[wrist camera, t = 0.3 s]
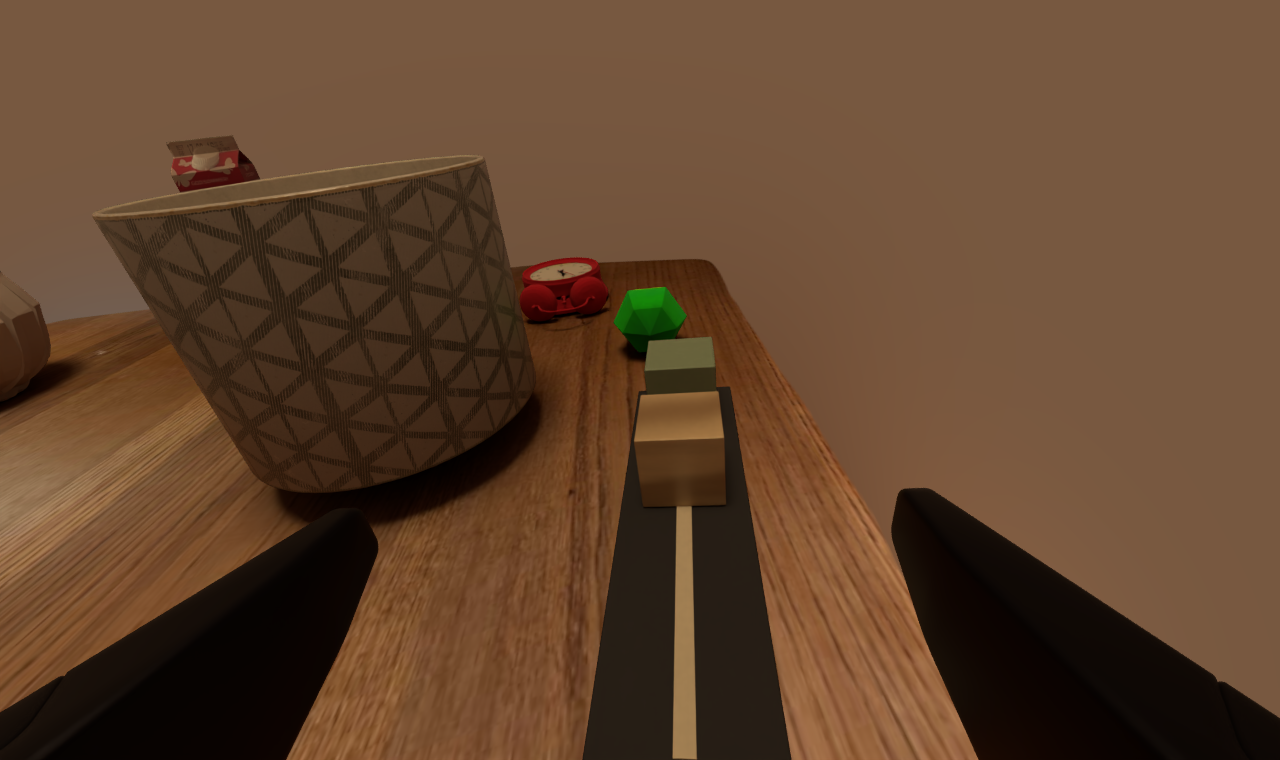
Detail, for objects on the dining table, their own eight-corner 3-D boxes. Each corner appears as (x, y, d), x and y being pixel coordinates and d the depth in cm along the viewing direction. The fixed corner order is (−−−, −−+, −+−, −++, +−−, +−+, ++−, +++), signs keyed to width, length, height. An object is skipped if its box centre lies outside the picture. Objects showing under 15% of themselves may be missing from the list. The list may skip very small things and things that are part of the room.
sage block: (717, 425, 33) (715, 366, 31) (650, 428, 33) (644, 370, 31) (713, 391, 37) (711, 336, 34) (654, 394, 37) (648, 340, 35)
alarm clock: (600, 252, 64) (606, 254, 50) (607, 300, 66) (615, 315, 52) (520, 264, 63) (503, 269, 49) (530, 312, 65) (516, 330, 51)
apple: (648, 282, 39) (646, 252, 47) (597, 335, 42) (603, 298, 49) (708, 337, 42) (697, 299, 50) (657, 384, 44) (654, 341, 52)
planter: (248, 585, 26) (-9, 237, 17) (287, 421, 41) (162, 192, 32) (580, 454, 33) (520, 159, 24) (509, 355, 48) (456, 152, 39)
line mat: (794, 791, 16) (795, 781, 15) (582, 781, 17) (579, 772, 16) (730, 392, 38) (729, 385, 37) (639, 397, 38) (638, 390, 38)
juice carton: (306, 313, 67) (223, 135, 56) (250, 325, 65) (153, 142, 54) (314, 300, 73) (240, 135, 62) (263, 310, 71) (177, 142, 60)
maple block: (726, 505, 26) (724, 437, 24) (642, 507, 27) (633, 441, 25) (720, 453, 30) (718, 390, 28) (647, 456, 31) (640, 394, 29)
